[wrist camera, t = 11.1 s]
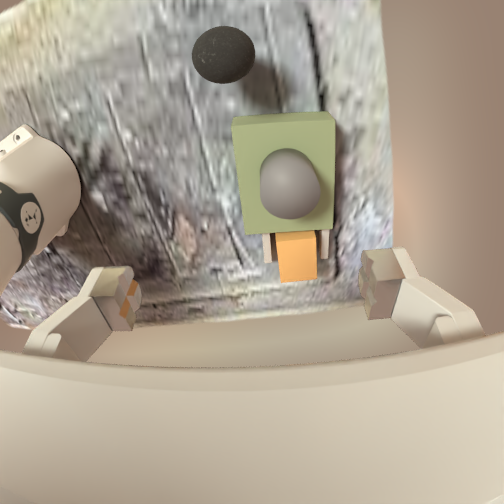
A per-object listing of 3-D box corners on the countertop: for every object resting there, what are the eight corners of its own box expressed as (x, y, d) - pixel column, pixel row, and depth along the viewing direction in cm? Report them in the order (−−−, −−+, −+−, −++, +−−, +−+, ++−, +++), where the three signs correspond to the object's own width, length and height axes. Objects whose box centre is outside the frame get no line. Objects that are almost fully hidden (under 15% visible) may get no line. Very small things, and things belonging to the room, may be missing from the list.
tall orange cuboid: (279, 259, 49) (280, 282, 45) (274, 220, 44) (276, 242, 40) (312, 256, 48) (316, 278, 44) (310, 216, 44) (316, 237, 40)
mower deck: (251, 255, 48) (249, 299, 41) (233, 117, 35) (226, 141, 28) (325, 250, 47) (336, 293, 40) (327, 111, 35) (346, 134, 28)
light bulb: (216, 81, 33) (202, 98, 25) (196, 39, 29) (175, 41, 22) (263, 64, 31) (265, 74, 24) (244, 21, 28) (239, 15, 20)
